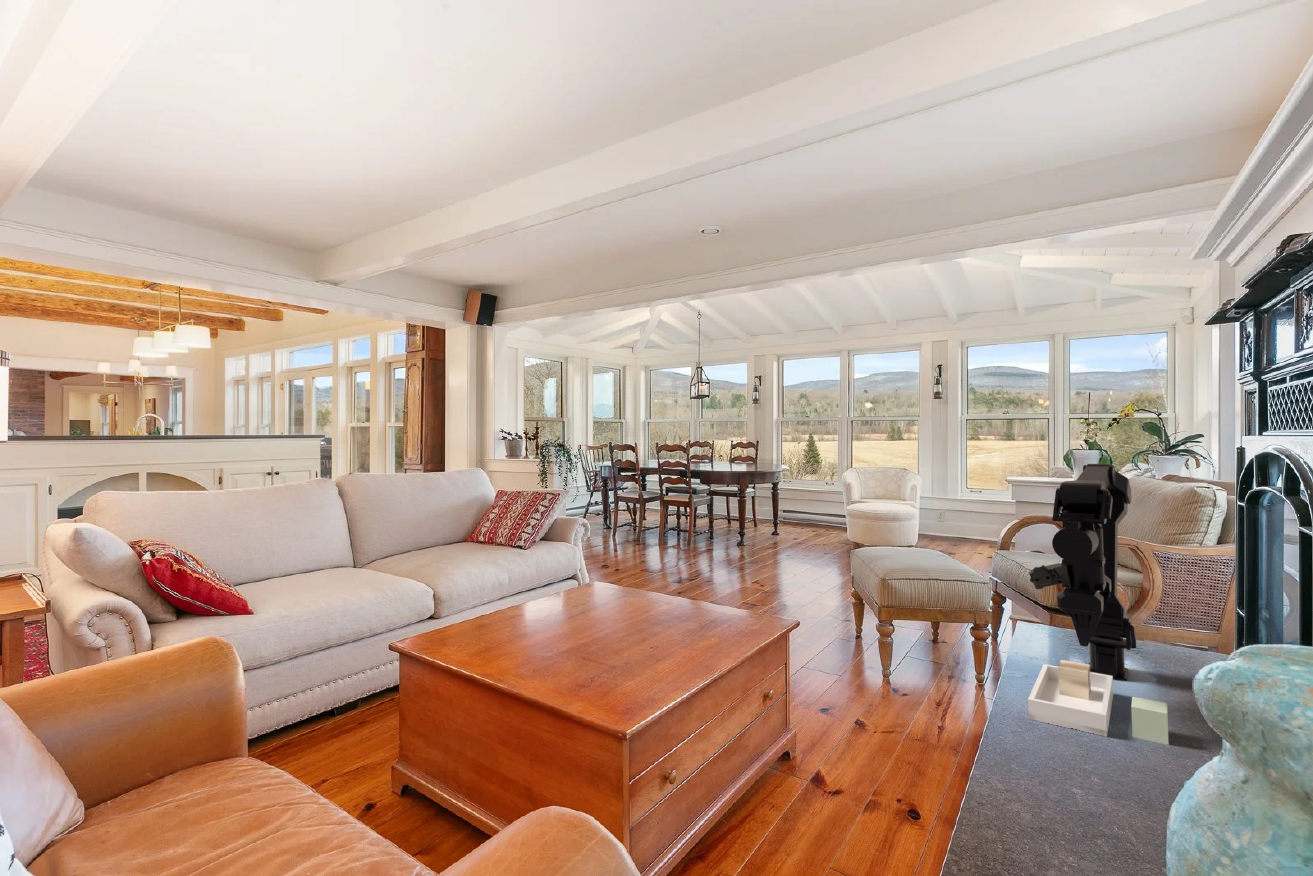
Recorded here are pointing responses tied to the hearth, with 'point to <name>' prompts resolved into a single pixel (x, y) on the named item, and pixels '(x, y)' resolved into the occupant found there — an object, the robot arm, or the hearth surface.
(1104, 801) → the hearth surface
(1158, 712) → the green block
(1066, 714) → the tray
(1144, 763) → the hearth surface
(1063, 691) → the birch block
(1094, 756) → the hearth surface
